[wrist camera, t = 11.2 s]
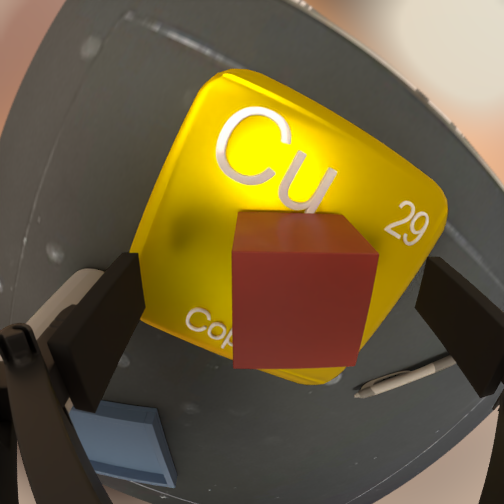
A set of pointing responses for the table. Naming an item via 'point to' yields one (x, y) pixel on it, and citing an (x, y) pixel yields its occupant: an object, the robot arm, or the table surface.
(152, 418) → the slate tray
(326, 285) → the red block
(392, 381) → the pen
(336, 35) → the table surface
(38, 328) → the beverage can
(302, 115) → the element tile
